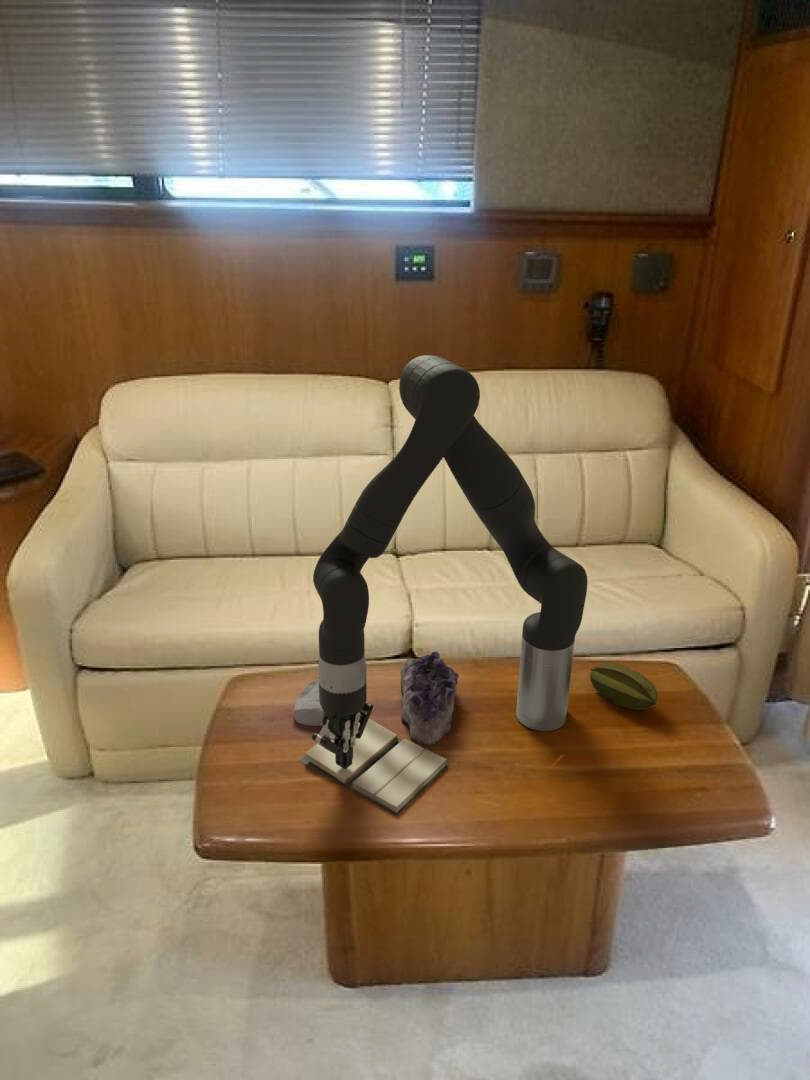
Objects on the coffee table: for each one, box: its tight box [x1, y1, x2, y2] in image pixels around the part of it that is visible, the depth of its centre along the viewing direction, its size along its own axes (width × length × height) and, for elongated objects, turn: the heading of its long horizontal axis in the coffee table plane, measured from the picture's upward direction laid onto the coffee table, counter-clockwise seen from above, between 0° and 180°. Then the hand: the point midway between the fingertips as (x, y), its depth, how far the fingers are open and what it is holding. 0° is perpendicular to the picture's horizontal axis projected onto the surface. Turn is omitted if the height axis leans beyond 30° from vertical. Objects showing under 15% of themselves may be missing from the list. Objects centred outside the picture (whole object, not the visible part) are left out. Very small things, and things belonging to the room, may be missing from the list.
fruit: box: [589, 663, 658, 711], centre depth 150 cm, size 11×12×7 cm
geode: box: [399, 651, 460, 747], centre depth 146 cm, size 20×12×10 cm, turn 1°
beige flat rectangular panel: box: [304, 718, 399, 784], centre depth 136 cm, size 14×9×1 cm, turn 143°
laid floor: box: [298, 738, 450, 817], centre depth 134 cm, size 15×21×2 cm
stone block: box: [293, 678, 324, 727], centre depth 148 cm, size 12×5×10 cm
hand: (344, 764), depth 131 cm, fingers closed
